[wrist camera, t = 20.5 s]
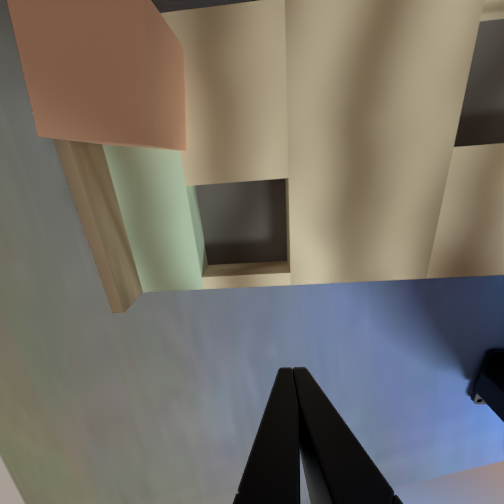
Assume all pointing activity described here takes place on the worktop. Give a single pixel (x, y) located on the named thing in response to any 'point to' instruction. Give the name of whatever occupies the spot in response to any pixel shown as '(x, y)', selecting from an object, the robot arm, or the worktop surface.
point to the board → (311, 152)
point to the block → (102, 71)
